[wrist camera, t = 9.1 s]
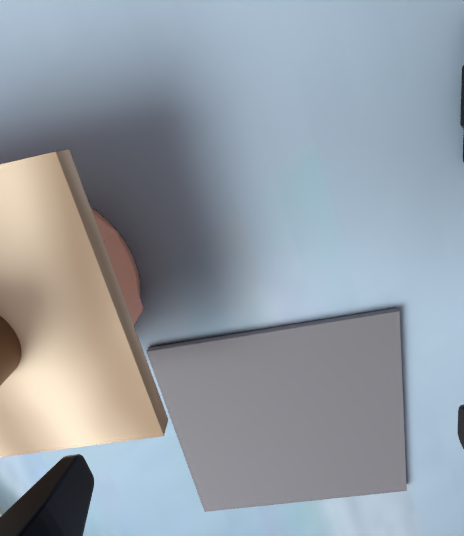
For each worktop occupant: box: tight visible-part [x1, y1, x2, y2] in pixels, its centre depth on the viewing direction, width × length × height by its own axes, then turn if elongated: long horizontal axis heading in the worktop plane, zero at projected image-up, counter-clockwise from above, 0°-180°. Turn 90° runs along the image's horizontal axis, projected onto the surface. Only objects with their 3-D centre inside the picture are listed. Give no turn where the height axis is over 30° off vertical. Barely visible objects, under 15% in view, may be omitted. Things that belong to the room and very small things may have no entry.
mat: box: [147, 308, 407, 512], centre depth 24 cm, size 15×15×1 cm
